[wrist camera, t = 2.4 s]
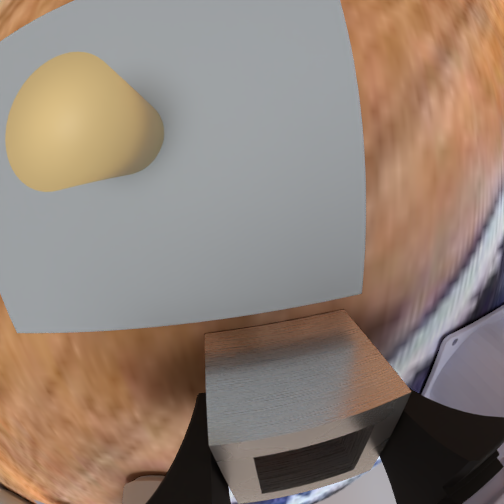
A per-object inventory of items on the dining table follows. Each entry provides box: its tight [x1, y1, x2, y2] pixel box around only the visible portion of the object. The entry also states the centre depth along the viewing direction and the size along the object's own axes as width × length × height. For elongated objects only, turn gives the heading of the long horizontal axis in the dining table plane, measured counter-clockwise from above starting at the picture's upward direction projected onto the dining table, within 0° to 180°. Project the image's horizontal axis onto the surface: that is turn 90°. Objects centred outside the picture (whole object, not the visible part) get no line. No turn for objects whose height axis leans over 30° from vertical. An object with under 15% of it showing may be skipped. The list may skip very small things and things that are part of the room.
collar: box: [205, 309, 411, 504], centre depth 9 cm, size 6×6×5 cm
